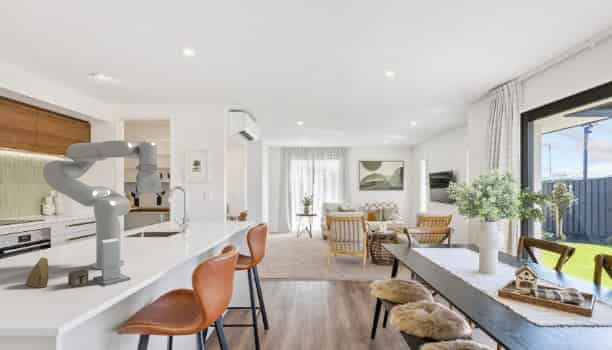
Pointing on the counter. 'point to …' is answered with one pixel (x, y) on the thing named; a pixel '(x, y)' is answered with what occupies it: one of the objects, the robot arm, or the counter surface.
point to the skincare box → (110, 259)
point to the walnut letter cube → (78, 277)
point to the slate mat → (113, 281)
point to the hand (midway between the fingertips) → (148, 206)
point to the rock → (39, 274)
